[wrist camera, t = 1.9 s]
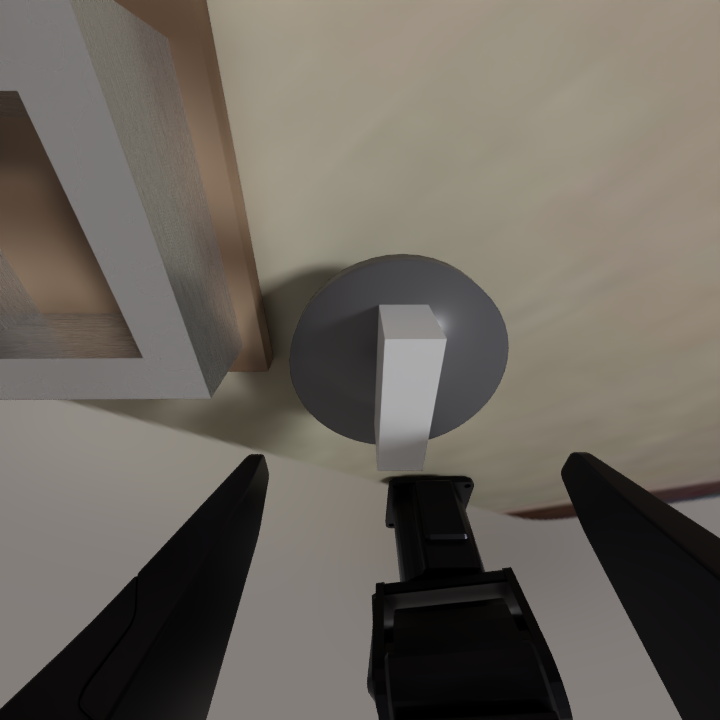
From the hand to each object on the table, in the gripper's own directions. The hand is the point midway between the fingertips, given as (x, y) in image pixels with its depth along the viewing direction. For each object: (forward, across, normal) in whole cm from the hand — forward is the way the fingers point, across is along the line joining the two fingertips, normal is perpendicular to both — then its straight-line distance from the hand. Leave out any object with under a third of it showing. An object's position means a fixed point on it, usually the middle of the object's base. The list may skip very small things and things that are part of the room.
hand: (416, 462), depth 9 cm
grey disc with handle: (+9, 0, 0) cm, 9 cm away
